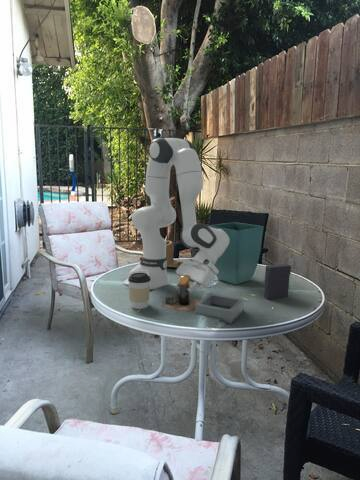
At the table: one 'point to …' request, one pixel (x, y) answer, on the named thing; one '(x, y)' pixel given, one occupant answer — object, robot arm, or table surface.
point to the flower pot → (239, 252)
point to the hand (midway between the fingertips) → (183, 288)
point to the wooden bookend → (171, 255)
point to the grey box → (277, 281)
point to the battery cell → (184, 289)
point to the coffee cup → (139, 290)
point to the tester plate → (173, 302)
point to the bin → (223, 313)
